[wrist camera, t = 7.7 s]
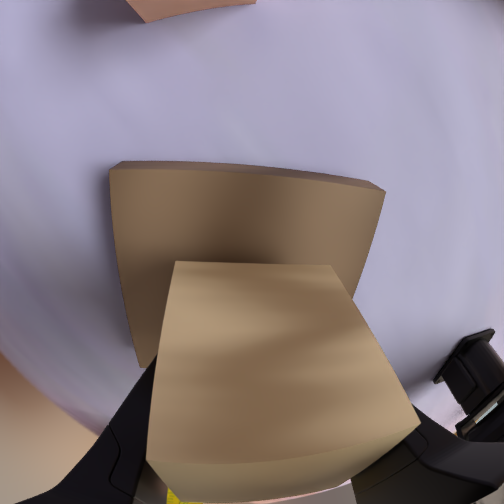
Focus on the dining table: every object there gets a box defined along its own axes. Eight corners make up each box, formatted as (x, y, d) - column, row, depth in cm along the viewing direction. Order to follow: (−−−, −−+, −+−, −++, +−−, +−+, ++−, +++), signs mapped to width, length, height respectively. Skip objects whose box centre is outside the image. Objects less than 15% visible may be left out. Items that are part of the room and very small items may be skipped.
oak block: (330, 265, 9) (420, 423, 4) (299, 361, 11) (336, 486, 6) (175, 260, 8) (146, 459, 3) (183, 363, 11) (181, 501, 5)
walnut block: (362, 177, 11) (386, 191, 10) (314, 341, 16) (323, 366, 14) (126, 158, 10) (109, 169, 8) (145, 340, 14) (139, 367, 13)
